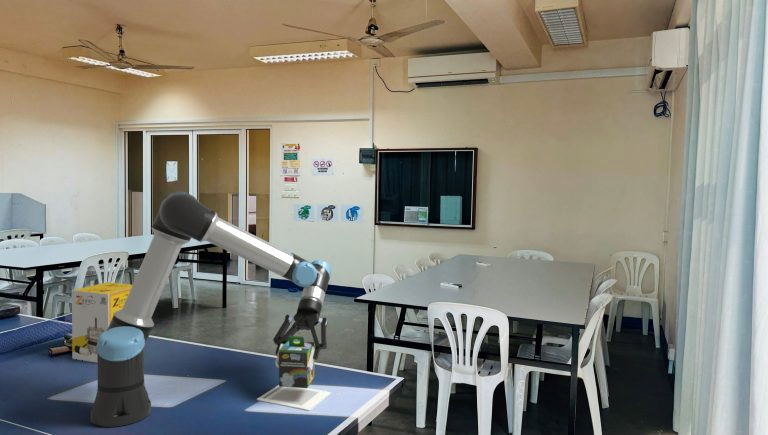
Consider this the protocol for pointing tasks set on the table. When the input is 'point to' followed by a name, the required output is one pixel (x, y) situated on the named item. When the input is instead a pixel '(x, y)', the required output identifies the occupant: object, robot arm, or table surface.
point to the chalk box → (295, 363)
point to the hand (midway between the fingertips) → (293, 367)
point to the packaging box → (94, 316)
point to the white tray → (295, 397)
